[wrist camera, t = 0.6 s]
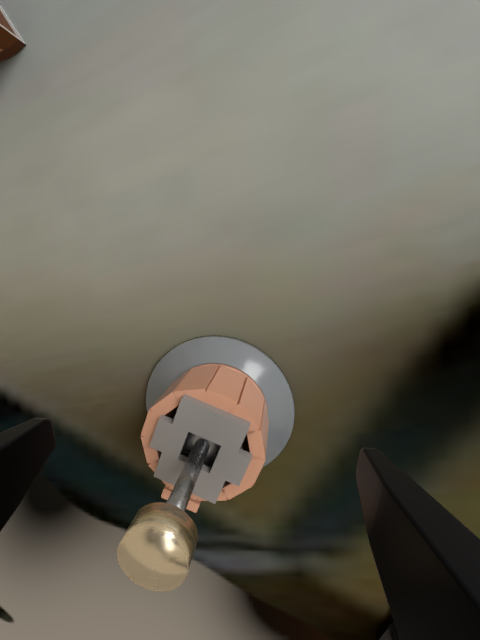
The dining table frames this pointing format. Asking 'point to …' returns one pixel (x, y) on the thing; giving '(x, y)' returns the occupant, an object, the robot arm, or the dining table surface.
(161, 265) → the dining table surface
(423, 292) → the dining table surface
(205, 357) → the disc
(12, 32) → the food container
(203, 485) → the orange slatted barrel
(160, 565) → the plunger
